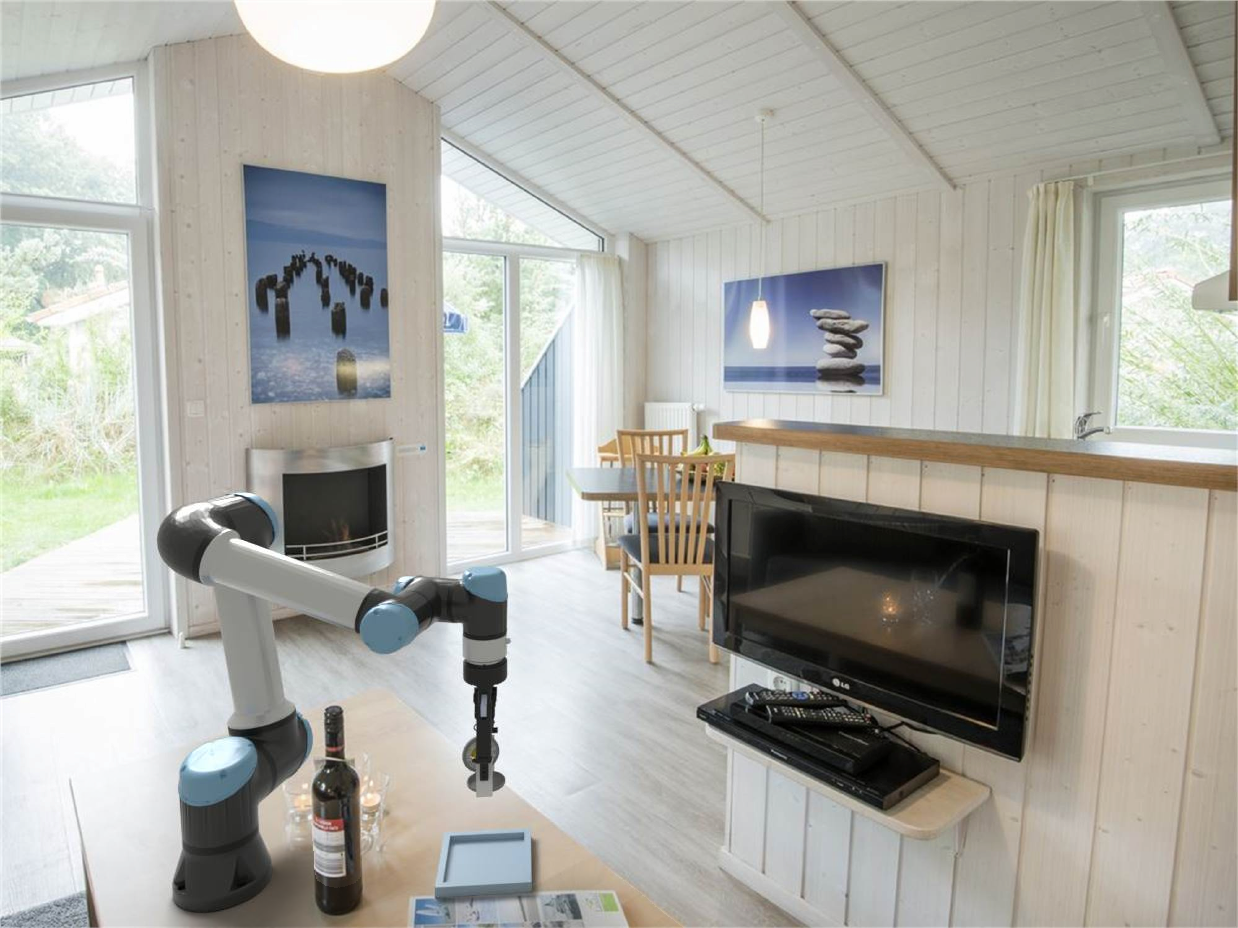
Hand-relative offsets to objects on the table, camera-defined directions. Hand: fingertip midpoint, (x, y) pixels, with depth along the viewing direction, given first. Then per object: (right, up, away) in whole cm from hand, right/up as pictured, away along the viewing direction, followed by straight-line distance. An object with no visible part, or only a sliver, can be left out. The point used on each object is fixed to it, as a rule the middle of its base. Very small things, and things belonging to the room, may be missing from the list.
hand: (485, 782), depth 141 cm
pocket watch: (0, 0, +1) cm, 1 cm away
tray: (0, -15, +2) cm, 16 cm away
